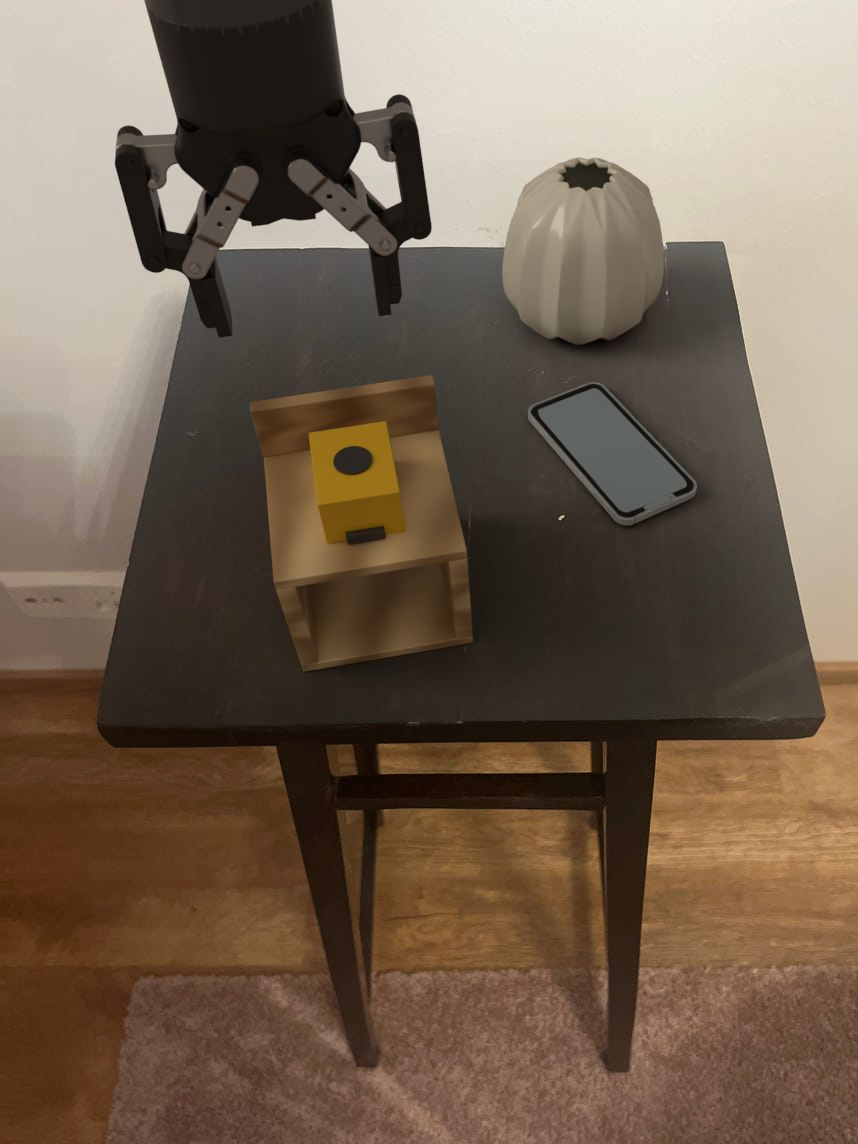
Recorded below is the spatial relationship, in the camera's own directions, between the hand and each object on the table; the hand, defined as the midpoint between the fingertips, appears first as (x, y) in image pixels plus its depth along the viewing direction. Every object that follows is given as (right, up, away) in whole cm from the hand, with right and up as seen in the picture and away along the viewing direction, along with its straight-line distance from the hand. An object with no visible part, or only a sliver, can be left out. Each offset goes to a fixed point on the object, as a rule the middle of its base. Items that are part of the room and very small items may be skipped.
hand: (304, 317), depth 53 cm
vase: (+19, +12, +37) cm, 43 cm away
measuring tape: (+2, -8, +10) cm, 13 cm away
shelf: (+2, -14, +19) cm, 23 cm away
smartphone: (+20, -2, +26) cm, 33 cm away
